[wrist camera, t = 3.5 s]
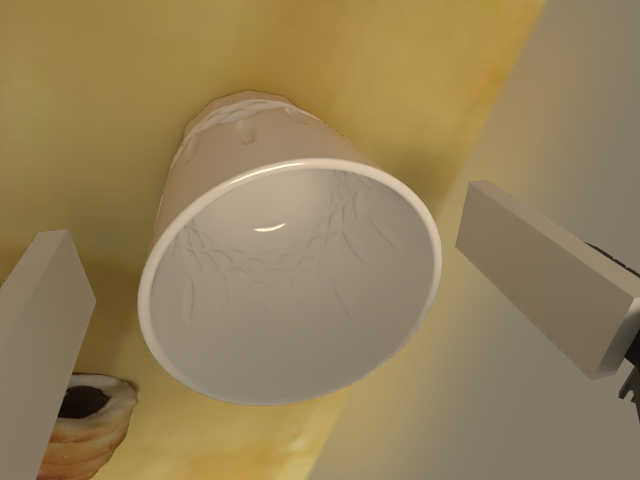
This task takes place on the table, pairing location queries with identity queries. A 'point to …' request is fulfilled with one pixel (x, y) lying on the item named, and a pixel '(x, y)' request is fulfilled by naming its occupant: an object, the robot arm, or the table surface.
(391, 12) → the table surface
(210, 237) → the white cup
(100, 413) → the pastry
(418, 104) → the table surface
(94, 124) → the table surface
